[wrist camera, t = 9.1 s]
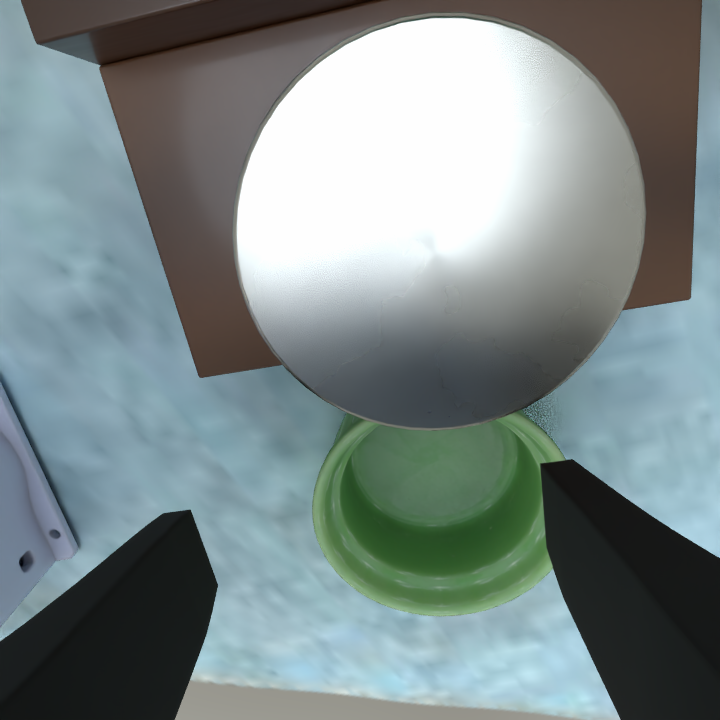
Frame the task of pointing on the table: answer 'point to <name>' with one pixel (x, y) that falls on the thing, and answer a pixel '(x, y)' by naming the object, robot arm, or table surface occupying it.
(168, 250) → the shelf
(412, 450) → the ramekin
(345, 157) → the tin can
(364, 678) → the table surface
